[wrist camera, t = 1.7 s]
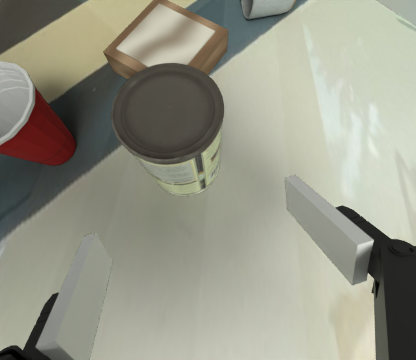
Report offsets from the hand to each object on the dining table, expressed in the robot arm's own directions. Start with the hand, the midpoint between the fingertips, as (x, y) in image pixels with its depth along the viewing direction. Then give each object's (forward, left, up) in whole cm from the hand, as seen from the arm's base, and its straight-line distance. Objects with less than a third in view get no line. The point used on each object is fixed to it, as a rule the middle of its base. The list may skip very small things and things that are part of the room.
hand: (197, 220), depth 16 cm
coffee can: (-8, +7, -16) cm, 20 cm away
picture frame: (-21, +21, -16) cm, 34 cm away
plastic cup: (-26, -2, -16) cm, 31 cm away
